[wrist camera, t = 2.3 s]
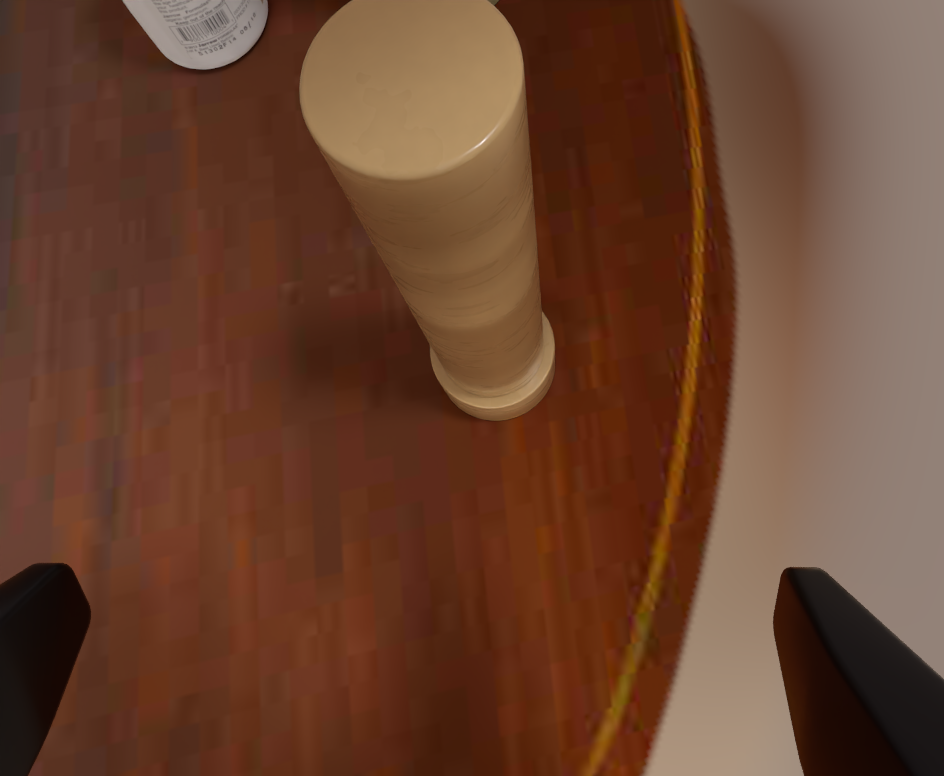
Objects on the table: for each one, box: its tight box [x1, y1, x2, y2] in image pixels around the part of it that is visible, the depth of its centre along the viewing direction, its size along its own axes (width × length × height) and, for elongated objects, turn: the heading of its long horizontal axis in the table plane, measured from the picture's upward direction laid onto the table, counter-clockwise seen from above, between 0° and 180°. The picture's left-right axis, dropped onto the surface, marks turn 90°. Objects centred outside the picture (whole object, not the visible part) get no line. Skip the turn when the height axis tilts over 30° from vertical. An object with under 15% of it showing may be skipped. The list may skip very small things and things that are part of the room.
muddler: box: [299, 0, 555, 421], centre depth 17 cm, size 4×4×14 cm
